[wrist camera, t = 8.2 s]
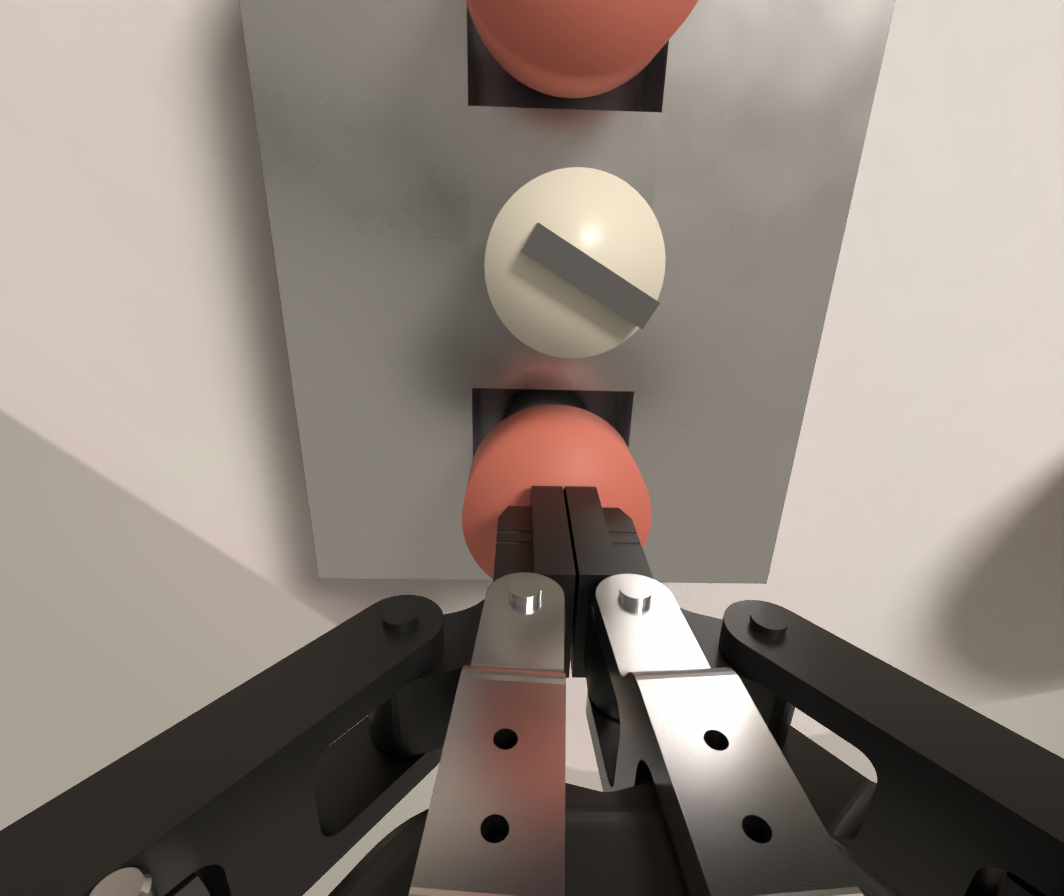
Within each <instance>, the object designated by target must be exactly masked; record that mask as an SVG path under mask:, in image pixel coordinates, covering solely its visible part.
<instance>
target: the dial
mask: <svg viewBox="0 0 1064 896" xmlns="http://www.w3.org/2000/svg"><path fill="white" fill-rule="evenodd" d="M665 259H666V257H665V245H664V240H663V236H662V232H661V229H660V226H659V223H658V221H657V219H656V217H655V215H654V213H653V211H652V209H651V208H650V206H649V205H648V203H647V202H646V201H645V199H644V198H643V197H642V196H641V195H640V194H639V193H638V192H637V191H636V190H635V189H634V188H633V187H632V186H630V185H629V184H628V183H627V182H625V181H623V180H622V179H620V178H618V177H617V176H614V175H612V174H610V173H607V172H605V171H601V170H597V169H593V168H585V167H569V168H563V169H558V170H554V171H551V172H548V173H545V174H542V175H540V176H538V177H537V178H535V179H533V180H531V181H530V182H528V183H527V184H525V185H524V186H522V187H521V188H520V189H519V190H518V191H517V192H516V193H515V194H513V195H512V196H511V198H510V199H509V200H508V201H507V202H506V204H505V205H504V206H503V208H502V209H501V211H500V212H499V214H498V216H497V217H496V219H495V222H494V224H493V226H492V228H491V231H490V234H489V237H488V240H487V245H486V251H485V262H484V270H485V281H486V286H487V291H488V294H489V297H490V300H491V303H492V305H493V307H494V309H495V311H496V313H497V315H498V316H499V318H500V320H501V321H502V323H503V324H504V325H505V326H506V327H507V329H508V330H509V331H510V332H511V333H512V334H513V335H514V336H515V337H516V338H517V339H519V340H520V341H521V342H523V343H524V344H526V345H527V346H529V347H530V348H532V349H534V350H536V351H538V352H541V353H544V354H547V355H550V356H554V357H559V358H570V359H573V358H585V357H590V356H595V355H598V354H601V353H604V352H606V351H608V350H611V349H613V348H615V347H616V346H618V345H620V344H621V343H623V342H624V341H626V340H627V339H628V338H629V337H630V336H632V335H633V334H634V333H635V332H636V331H637V330H638V329H639V328H641V329H642V330H643V328H644V327H645V325H646V324H647V322H648V321H649V319H650V318H651V316H652V315H653V313H654V312H655V310H656V309H657V307H658V306H659V304H660V302H658V301H657V299H658V297H659V295H660V291H661V288H662V284H663V280H664V274H665Z"/></svg>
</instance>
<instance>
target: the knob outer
mask: <svg viewBox="0 0 1064 896" xmlns="http://www.w3.org/2000/svg"><path fill="white" fill-rule="evenodd" d="M531 486H562V487H563V493H564V486H592V487H596V488H597V491H598V495H599V499H600V502H601V506H602V507H608V508H620V509H621V510H622V511H623V512H624V513H626V514H627V515H628V516H629V517H630V518H631V519H632V520H633V523H634V526H635V529H636V531H637V535H638V537H639V540H640V542H641V546H642V548H644V546H645V544H646V541H647V538H648V535H649V531H650V526H651V516H652V510H651V501H650V497H649V493H648V490H647V487H646V485H645V483H644V480H643V478H642V476H641V474H640V472H639V470H638V467H637V465H636V463H635V461H634V459H633V457H632V454H631V452H630V450H629V448H628V446H627V444H626V443H625V441H624V439H623V438H622V437H621V435H620V434H619V433H618V432H617V431H616V429H614V428H613V427H612V426H611V425H610V424H609V423H608V422H606V421H605V420H603V419H602V418H601V417H599V416H597V415H595V414H593V413H591V412H589V411H587V409H586V408H585V406H584V404H583V403H582V402H581V401H580V400H579V399H578V398H577V397H576V396H574V395H573V394H571V393H570V392H568V391H566V390H540V389H531V390H528V391H526V392H524V393H522V394H521V395H519V396H518V397H517V398H515V399H514V400H513V401H512V402H511V403H510V405H509V406H508V408H507V409H506V411H505V413H504V416H503V418H502V421H501V422H500V423H499V424H497V425H496V426H495V427H494V428H493V429H492V430H491V431H490V432H489V433H488V434H487V435H486V436H485V438H484V439H483V440H482V442H481V443H480V445H479V447H478V449H477V451H476V452H475V455H474V458H473V460H472V464H471V469H470V473H469V478H468V483H467V489H466V494H465V499H464V504H463V509H462V527H463V534H464V538H465V542H466V544H467V546H468V549H469V551H470V553H471V555H472V556H473V558H474V560H475V561H476V563H477V564H478V565H479V566H480V568H481V569H482V570H483V571H484V572H485V573H486V574H487V575H488V576H489V577H490V578H492V579H493V575H494V563H495V550H496V537H497V525H498V517H499V516H500V515H501V513H502V512H503V511H504V510H505V509H506V508H507V507H508V506H530V504H531Z"/></svg>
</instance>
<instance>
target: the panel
mask: <svg viewBox="0 0 1064 896" xmlns="http://www.w3.org/2000/svg"><path fill="white" fill-rule="evenodd" d="M239 4H240V12H241V19H242V26H243V33H244V40H245V48H246V55H247V62H248V69H249V77H250V84H251V91H252V98H253V105H254V113H255V120H256V127H257V134H258V142H259V149H260V156H261V163H262V170H263V178H264V185H265V192H266V199H267V207H268V214H269V221H270V228H271V235H272V243H273V250H274V257H275V264H276V271H277V279H278V286H279V293H280V300H281V308H282V315H283V322H284V329H285V336H286V344H287V351H288V358H289V365H290V373H291V380H292V387H293V394H294V401H295V409H296V416H297V423H298V430H299V438H300V445H301V452H302V459H303V466H304V474H305V481H306V488H307V495H308V503H309V510H310V517H311V524H312V531H313V539H314V546H315V553H316V560H317V568H318V575H319V578H338V579H423V580H493V579H492V578H490V577H489V576H488V575H487V574H486V573H485V572H484V571H483V570H482V569H481V568H480V566H479V565H478V564H477V563H476V561H475V560H474V558H473V556H472V555H471V553H470V551H469V549H468V546H467V544H466V542H465V538H464V534H463V527H462V509H463V504H464V499H465V494H466V489H467V483H468V478H469V473H470V469H471V464H472V460H473V458H474V455H475V452H476V451H477V449H478V447H479V445H480V443H481V442H482V440H483V439H484V438H485V436H486V435H487V434H488V433H489V432H490V431H491V430H492V429H493V428H494V427H495V426H496V425H497V424H499V423H500V422H501V421H502V418H503V416H504V413H505V411H506V409H507V408H508V406H509V405H510V403H511V402H512V401H513V400H514V399H515V398H517V397H518V396H519V395H521V394H522V393H524V392H526V391H528V390H531V389H540V390H566V391H568V392H570V393H571V394H573V395H574V396H576V397H577V398H578V399H579V400H580V401H581V402H582V403H583V404H584V406H585V408H586V409H587V411H589V412H591V413H593V414H595V415H597V416H599V417H601V418H602V419H603V420H605V421H606V422H608V423H609V424H610V425H611V426H612V427H613V428H614V429H616V431H617V432H618V433H619V434H620V435H621V437H622V438H623V439H624V441H625V443H626V444H627V446H628V448H629V450H630V452H631V454H632V457H633V459H634V461H635V463H636V465H637V467H638V470H639V472H640V474H641V476H642V478H643V480H644V483H645V485H646V487H647V490H648V493H649V497H650V501H651V510H652V516H651V526H650V531H649V535H648V538H647V541H646V544H645V546H644V548H643V551H644V553H645V556H646V559H647V562H648V564H649V567H650V570H651V573H652V576H653V578H654V580H656V581H658V582H677V583H762V584H766V583H767V579H768V574H769V570H770V565H771V561H772V556H773V552H774V547H775V543H776V538H777V534H778V529H779V525H780V520H781V516H782V511H783V506H784V502H785V497H786V493H787V488H788V484H789V479H790V475H791V470H792V466H793V461H794V457H795V452H796V448H797V443H798V439H799V434H800V430H801V425H802V421H803V416H804V412H805V407H806V403H807V398H808V394H809V389H810V384H811V380H812V375H813V371H814V366H815V362H816V357H817V353H818V348H819V344H820V339H821V335H822V330H823V326H824V321H825V317H826V312H827V308H828V303H829V299H830V294H831V290H832V285H833V281H834V276H835V272H836V267H837V262H838V258H839V253H840V249H841V244H842V240H843V235H844V231H845V226H846V222H847V217H848V213H849V208H850V204H851V199H852V195H853V190H854V186H855V181H856V177H857V172H858V168H859V163H860V159H861V154H862V150H863V145H864V141H865V136H866V131H867V127H868V122H869V118H870V113H871V109H872V104H873V100H874V95H875V91H876V86H877V82H878V77H879V73H880V68H881V64H882V59H883V55H884V50H885V46H886V41H887V37H888V32H889V28H890V23H891V19H892V14H893V9H894V5H895V0H698V2H697V4H696V5H695V7H694V8H693V10H692V11H691V13H690V14H689V16H688V17H687V19H686V20H685V21H684V22H683V24H682V25H681V26H680V27H679V28H678V30H677V31H676V32H675V33H674V34H673V36H672V37H671V38H670V39H669V40H668V41H667V43H666V44H665V45H664V46H663V47H662V49H661V50H660V51H659V52H658V53H657V54H656V56H655V57H654V58H653V59H652V60H651V62H650V63H649V64H648V65H647V66H646V67H645V68H644V69H642V70H641V71H640V72H639V73H638V74H637V75H636V76H634V77H633V78H631V79H630V80H629V81H627V82H626V83H624V84H622V85H620V86H619V87H617V88H615V89H613V90H611V91H608V92H605V93H602V94H599V95H595V96H590V97H585V98H562V97H555V96H551V95H547V94H544V93H541V92H539V91H536V90H534V89H532V88H529V87H528V86H526V85H525V84H523V83H521V82H520V81H518V80H517V79H515V78H514V77H513V76H512V75H510V74H509V73H508V72H507V71H506V70H505V69H504V68H503V67H502V66H501V65H500V64H499V63H498V62H497V61H496V60H495V59H494V57H493V56H492V55H491V53H490V52H489V50H488V49H487V48H486V46H485V45H484V43H483V41H482V39H481V38H480V36H479V34H478V32H477V30H476V28H475V25H474V23H473V21H472V18H471V16H470V13H469V9H468V6H467V2H466V0H239ZM569 167H585V168H593V169H597V170H601V171H605V172H607V173H610V174H612V175H614V176H617V177H618V178H620V179H622V180H623V181H625V182H627V183H628V184H629V185H630V186H632V187H633V188H634V189H635V190H636V191H637V192H638V193H639V194H640V195H641V196H642V197H643V198H644V199H645V201H646V202H647V203H648V205H649V206H650V208H651V209H652V211H653V213H654V215H655V217H656V219H657V221H658V223H659V226H660V229H661V232H662V236H663V240H664V245H665V257H666V259H665V274H664V280H663V284H662V288H661V291H660V295H659V297H658V299H657V301H658V302H660V304H659V306H658V307H657V309H656V310H655V312H654V313H653V315H652V316H651V318H650V319H649V321H648V322H647V324H646V325H645V327H644V328H643V330H642V329H641V328H639V329H638V330H637V331H636V332H635V333H634V334H633V335H632V336H630V337H629V338H628V339H627V340H626V341H624V342H623V343H621V344H620V345H618V346H616V347H615V348H613V349H611V350H608V351H606V352H604V353H601V354H598V355H595V356H590V357H585V358H573V359H570V358H559V357H554V356H550V355H547V354H544V353H541V352H538V351H536V350H534V349H532V348H530V347H529V346H527V345H526V344H524V343H523V342H521V341H520V340H519V339H517V338H516V337H515V336H514V335H513V334H512V333H511V332H510V331H509V330H508V329H507V327H506V326H505V325H504V324H503V323H502V321H501V320H500V318H499V316H498V315H497V313H496V311H495V309H494V307H493V305H492V303H491V300H490V297H489V294H488V291H487V286H486V281H485V270H484V262H485V251H486V245H487V240H488V237H489V234H490V231H491V228H492V226H493V224H494V222H495V219H496V217H497V216H498V214H499V212H500V211H501V209H502V208H503V206H504V205H505V204H506V202H507V201H508V200H509V199H510V198H511V196H512V195H513V194H515V193H516V192H517V191H518V190H519V189H520V188H521V187H522V186H524V185H525V184H527V183H528V182H530V181H531V180H533V179H535V178H537V177H538V176H540V175H542V174H545V173H548V172H551V171H554V170H558V169H563V168H569Z"/></svg>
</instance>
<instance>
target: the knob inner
mask: <svg viewBox="0 0 1064 896" xmlns="http://www.w3.org/2000/svg"><path fill="white" fill-rule="evenodd" d="M466 2H467V6H468V9H469V13H470V16H471V18H472V21H473V23H474V25H475V28H476V30H477V32H478V34H479V36H480V38H481V39H482V41H483V43H484V45H485V46H486V48H487V49H488V50H489V52H490V53H491V55H492V56H493V57H494V59H495V60H496V61H497V62H498V63H499V64H500V65H501V66H502V67H503V68H504V69H505V70H506V71H507V72H508V73H509V74H510V75H512V76H513V77H514V78H515V79H517V80H518V81H520V82H521V83H523V84H525V85H526V86H528V87H529V88H532V89H534V90H536V91H539V92H541V93H544V94H547V95H551V96H555V97H562V98H585V97H590V96H595V95H599V94H602V93H605V92H608V91H611V90H613V89H615V88H617V87H619V86H620V85H622V84H624V83H626V82H627V81H629V80H630V79H631V78H633V77H634V76H636V75H637V74H638V73H639V72H640V71H641V70H642V69H644V68H645V67H646V66H647V65H648V64H649V63H650V62H651V60H652V59H653V58H654V57H655V56H656V54H657V53H658V52H659V51H660V50H661V49H662V47H663V46H664V45H665V44H666V43H667V41H668V40H669V39H670V38H671V37H672V36H673V34H674V33H675V32H676V31H677V30H678V28H679V27H680V26H681V25H682V24H683V22H684V21H685V20H686V19H687V17H688V16H689V14H690V13H691V11H692V10H693V8H694V7H695V5H696V4H697V2H698V0H466Z"/></svg>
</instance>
